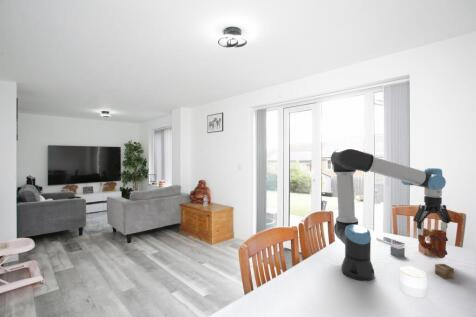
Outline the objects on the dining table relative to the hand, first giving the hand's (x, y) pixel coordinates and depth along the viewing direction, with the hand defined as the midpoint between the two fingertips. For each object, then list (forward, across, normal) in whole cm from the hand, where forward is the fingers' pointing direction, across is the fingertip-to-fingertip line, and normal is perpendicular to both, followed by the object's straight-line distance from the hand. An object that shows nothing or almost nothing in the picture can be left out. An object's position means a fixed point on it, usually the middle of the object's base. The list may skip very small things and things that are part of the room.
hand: (431, 234), depth 131 cm
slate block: (+16, -10, +12) cm, 23 cm away
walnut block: (+16, -5, -13) cm, 22 cm away
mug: (+12, 0, 0) cm, 12 cm away
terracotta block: (+16, +9, +13) cm, 22 cm away
